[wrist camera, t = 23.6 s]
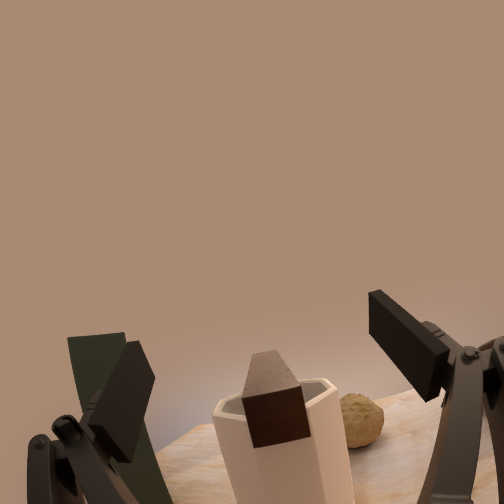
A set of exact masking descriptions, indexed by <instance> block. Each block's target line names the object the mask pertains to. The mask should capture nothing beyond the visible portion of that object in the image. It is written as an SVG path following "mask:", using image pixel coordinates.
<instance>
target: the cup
mask: <svg viewBox="0 0 504 504" xmlns="http://www.w3.org/2000/svg"><path fill="white" fill-rule="evenodd" d="M297 381H298V382H299V384H300V385H301V387H302V392H303V397H304V401H305V406H306V411H307V416H308V421H309V426H310V431H311V437H308V438H304V439H299V440H295V441H291V442H286V443H281V444H277V445H271V446H266V447H260V448H253V444H252V441H251V437H250V433H249V429H248V425H247V420H246V416H245V412H244V408H243V404H242V400H241V398H242V394H243V392H241V393H238V394H236V395H233V396H230V397H227V398H225V399H222V400H220V401H219V403H218V404H217V406H216V408H215V409H214V411H213V413H212V418H213V422H214V426H215V430H216V433H217V437H218V441H219V444H220V448H221V451H222V455H223V458H224V462H225V465H226V468H227V471H228V475H229V478H230V481H231V484H232V487H233V490H234V493H235V496H236V499H237V502H238V504H355V502H354V493H353V485H352V477H351V469H350V462H349V455H348V449H347V442H346V436H345V429H344V423H343V417H342V412H341V406H340V400H339V395H338V390H337V388H336V387H335V386H334V385H332V384H331V383H330V382H329V381H328V380H326V379H324V378H319V379H304V380H297Z"/></svg>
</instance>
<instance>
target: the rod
mask: <svg viewBox="0 0 504 504" xmlns="http://www.w3.org/2000/svg"><path fill="white" fill-rule="evenodd" d="M241 400H242V404H243V408H244V412H245V416H246V420H247V425H248V429H249V433H250V437H251V441H252V444H253V448H260V447H266V446H271V445H277V444H281V443H286V442H291V441H295V440H299V439H304V438H308V437H311V431H310V426H309V421H308V416H307V411H306V406H305V401H304V397H303V392H302V387H301V385H300V384H299V382H298V381H297V379H296V378H295V376H294V375H293V373H292V372H291V370H290V369H289V368H288V366H287V365H286V363H285V362H284V360H283V359H282V357H281V356H280V354H279V353H278V351H277V350H271V351H267V352H262V353H257V354H253V355H252V359H251V363H250V367H249V371H248V375H247V379H246V383H245V387H244V390H243V394H242V398H241Z"/></svg>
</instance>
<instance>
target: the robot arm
mask: <svg viewBox="0 0 504 504" xmlns="http://www.w3.org/2000/svg"><path fill="white" fill-rule="evenodd" d="M368 295H369V334H370V335H371V336H372V337H373V338H374V339H375V341H376V342H377V343H378V344H379V346H380V347H381V348H382V349H383V350H384V352H385V353H386V354H387V355H388V356H389V358H390V359H391V360H392V361H393V363H394V364H395V365H396V366H397V368H398V369H399V370H400V371H401V372H402V374H403V375H404V376H405V377H406V378H407V380H408V381H409V382H410V384H411V385H412V386H413V387H414V389H415V390H416V391H417V392H418V394H419V395H420V396H421V397H422V399H423V400H424V401H425V403H426V402H428V401H430V400H432V399H434V398H436V397H438V396H439V393H440V390H441V387H442V388H443V389H444V390H445V391H446V393H445V396H444V399H443V402H442V405H441V407H442V414H441V419H440V424H439V429H438V434H437V438H436V442H435V446H434V450H433V454H432V458H431V462H430V465H429V469H428V472H427V475H426V478H425V482H424V485H423V488H422V490H421V493H420V496H419V499H418V502H417V504H473V501H472V500H471V493H472V488H473V484H474V479H475V473H476V468H477V461H478V455H479V447H480V438H481V427H482V411H483V402H484V406H485V410H486V414H487V419H488V423H489V428H490V433H491V438H492V444H493V450H494V456H495V463H496V471H497V481H498V493H499V504H504V337H501V338H498V339H496V340H495V341H494V344H493V347H492V349H489V350H485V351H481V352H480V351H479V350H478V349H477V348H475V347H471V346H465V347H462V346H460V345H459V344H458V343H457V342H456V341H455V340H453V339H452V338H451V337H450V336H448V335H447V334H446V333H445V332H444V331H442V330H441V329H440V328H439V327H438V326H436V325H435V324H433V323H430V322H428V321H424V322H422V323H420V322H419V321H417V320H416V319H415V318H414V317H413V316H412V315H410V314H409V313H408V312H407V311H406V310H405V309H403V308H402V307H401V306H400V305H398V304H397V303H396V302H395V301H394V300H392V299H391V298H390V297H389V296H388V295H386V294H385V293H384V292H383V291H381V290H376V291H373V292H369V293H368ZM154 381H155V376H154V374H153V371H152V369H151V367H150V365H149V363H148V360H147V358H146V356H145V354H144V352H143V349H142V346H141V344H140V342H139V341H132V342H127V344H126V346H125V347H124V349H123V351H122V353H121V355H120V357H119V359H118V361H117V363H116V365H115V367H114V369H113V371H112V373H111V375H110V377H109V379H108V381H107V383H106V385H105V387H104V389H103V390H98V391H97V392H96V393H95V394H94V395H93V396H92V398H91V400H90V402H89V404H88V406H87V408H86V410H85V412H84V414H83V416H82V418H81V420H80V422H79V423H78V422H77V421H76V419H75V418H74V417H73V416H72V415H64V416H61V417H59V418H57V419H56V420H55V421H54V423H53V425H52V431H53V432H54V434H55V435H56V436H57V437H58V439H59V440H54V441H51V440H50V439H49V438H48V437H47V436H46V435H44V434H39V435H36V436H34V437H33V438H32V439H31V440H30V442H29V445H28V459H27V501H28V503H27V504H85V503H84V498H83V494H84V496H85V498H86V500H87V502H88V504H139V503H138V501H137V500H136V499H135V497H134V496H133V495H132V493H131V492H130V490H129V489H128V488H127V486H126V485H125V483H124V482H123V480H122V479H121V477H120V476H119V474H118V473H117V471H116V469H115V468H114V466H113V465H112V464H111V463H110V459H111V456H112V457H113V458H114V459H115V460H116V461H117V462H118V463H130V464H132V461H133V457H134V453H135V449H136V446H137V442H138V438H139V434H140V430H141V427H142V423H143V419H144V415H145V412H146V408H147V405H148V401H149V398H150V394H151V391H152V387H153V384H154ZM82 492H83V493H82Z"/></svg>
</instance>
